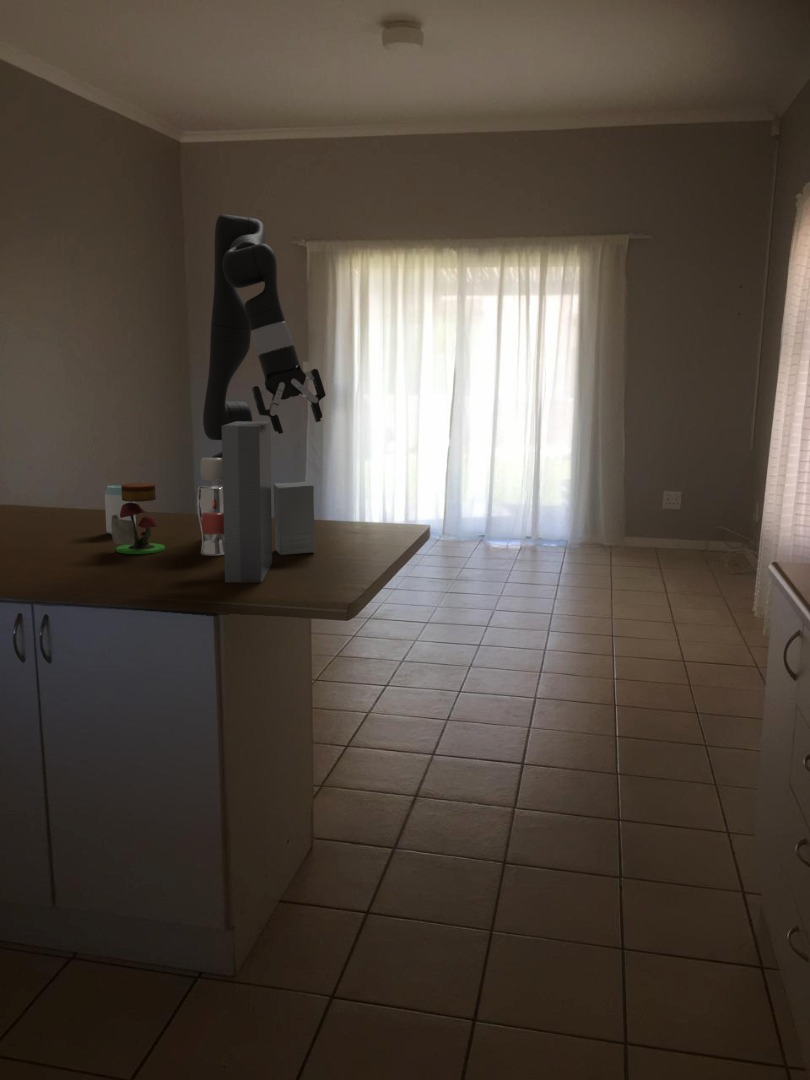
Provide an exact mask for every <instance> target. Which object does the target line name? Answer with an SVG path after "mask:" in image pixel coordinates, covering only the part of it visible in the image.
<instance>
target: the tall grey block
mask: <svg viewBox="0 0 810 1080" xmlns="http://www.w3.org/2000/svg"><path fill="white" fill-rule="evenodd" d="M271 443H272V442H271V421H252V422H243V421H236V422H233V423H229V424H226V425H223V426H222V440H221V446H222V447H221V452H222V465H223V511H224V555H223V556H224V557H223V558H224V583H258V584H259V583H262V582H263V580H264V578H265V577H266V575H267V574H268V571H269V570H270V568H271V566H272V565H271V564H273V540H272V539H273V538H272V537H273V536H272V535H273V534H272V532H273V528H272V525H273V524H272V522H273V521H272V460H271V459H272V457H271V456H272V453H271V451H272V450H271V449H272V448H271V447H272V446H271Z"/></svg>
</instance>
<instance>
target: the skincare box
mask: <svg viewBox="0 0 810 1080" xmlns="http://www.w3.org/2000/svg"><path fill="white" fill-rule="evenodd" d="M314 488H315V486H314V485H313V484H311V483H310V481H299V482H280V483H279V482H277V483H273V512H274V513H273V514H274V516H273V517H274V542H275V545H274V546H275V551H276V552H277V553H278V554H279V555H280V556H286V555H295V554H296V555H299V554H311V553H312V554H314V553H316V544H315V543H316V542H315V541H316V540H315V537H316V536H315V505H314V503H315V502H314V500H315V496H314Z"/></svg>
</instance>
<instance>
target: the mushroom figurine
mask: <svg viewBox="0 0 810 1080" xmlns="http://www.w3.org/2000/svg"><path fill="white" fill-rule="evenodd" d="M121 485H122V486H121V490H122V500H123V501H128V502H135V503H125V504H123V505H122V508H121V512H120V517H121V518H123V517H128V516H131V521H130V520H122V519H119V516H118V514H116V515H113V516H111V517H112V523H111V527H112V535H111V537H112V538H111V539H112V542H113V543H114V544H115V545H120V546H116V549H115V550H116V552H117V553H120V554H125V555H148V554H155V553H160V552H163V551H165V549H166V546H165V545H164V544H161V543H152V542H151V543H150V542H149V541H148V540H149V538H150V536H151V534H152V530H151V529H152V528H156V527H158V526H159V524H158V522H157V520H156V519H155V518H154V517H153V516H151V515H150V516H149V515H146V516H145V515H144V516H143V517H142V518H141V519H140V521H139V522H138V525H135V521H134V517H133V515H135V516H136V515H139V514H142V513H146V512H147V510H145V509H144V508H143V507H141V505H140V504H138V503H137V502H151V501H155V500H156V498H157V497H156V496H157V495H156V484H155V483H151V482H132V483H131V482H130V483H129V482H128V483H123V484H121ZM137 526H138V527H140V528H142V529H145V530H144V531H142V532H141V533H140V536H141V537H140V536H139V532H138V529H137Z"/></svg>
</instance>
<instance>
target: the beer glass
mask: <svg viewBox="0 0 810 1080" xmlns="http://www.w3.org/2000/svg"><path fill="white" fill-rule="evenodd" d="M196 501H197V502H196V503H197V504H196V505H197V506H196V507H197V516H198V520H199V521H198V523H199V527H200V531H201V538H202V539H201V548H200V555H202V556H208V557H210V556H211V557H219V556H224V535H213V534H203V532H202V515H203V513H224V511H223V486H220V485H212V484H210V485H199V486H198V487H197V500H196Z"/></svg>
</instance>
